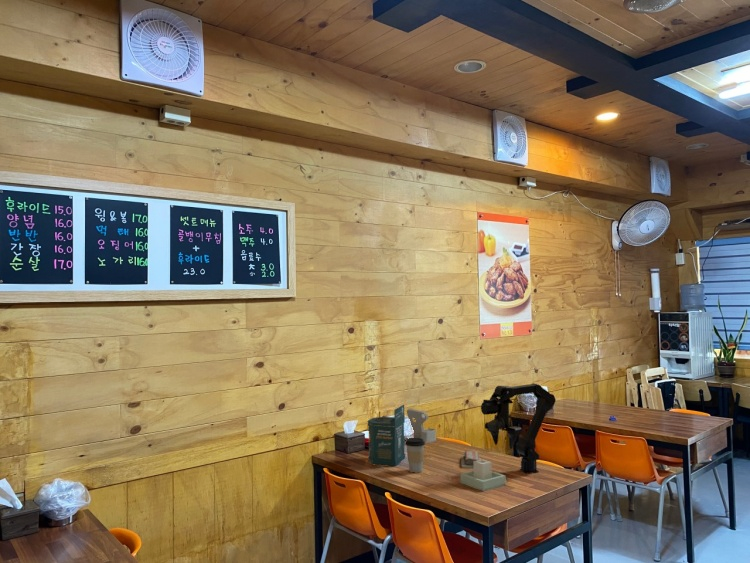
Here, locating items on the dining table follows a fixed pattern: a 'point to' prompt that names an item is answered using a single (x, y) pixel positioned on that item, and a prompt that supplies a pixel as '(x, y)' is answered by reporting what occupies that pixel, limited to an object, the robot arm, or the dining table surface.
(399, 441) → the donation box
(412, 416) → the phone holder
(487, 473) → the beige hollow square block
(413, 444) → the coffee cup
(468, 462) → the packaged product
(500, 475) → the green square tray
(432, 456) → the dining table surface
